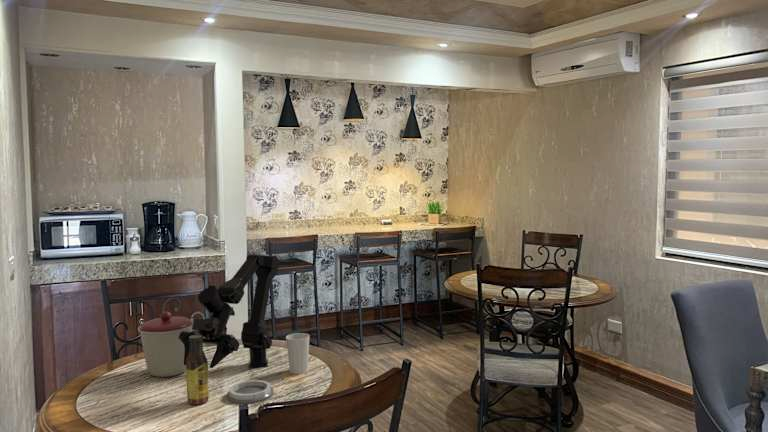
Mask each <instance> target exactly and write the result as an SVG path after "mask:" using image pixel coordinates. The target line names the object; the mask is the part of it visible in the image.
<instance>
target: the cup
mask: <svg viewBox="0 0 768 432" xmlns="http://www.w3.org/2000/svg"><path fill="white" fill-rule="evenodd" d="M285 343H286V349H287V356H288V364H289V373H290V374H291V375H292V374H293V375H303V374H306V373H308V372H309V354H310V353H309V352H310V350H309V349H310V334H309V333H306V332H305V333H303V332H302V333H301V332H299V333H298V332H296V333H290V334H287V335H285Z"/></svg>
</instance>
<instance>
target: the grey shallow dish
mask: <svg viewBox="0 0 768 432" xmlns="http://www.w3.org/2000/svg"><path fill="white" fill-rule="evenodd" d="M274 393H275V392H274V388H273V386H271V383H270V382H268V381H267V380H261V379H260V380H259V379H252V380H244V381H240V382H237V383H236V382H235V383H234V384H232V385H231V386H230V387H229V391H227V393H226V400H227V401H228V402H230V403H233V404H239V405H248V404H249V405H250V404H256V403H261V402H263V401H266V400H268V399H270V398H271V397H272V396H273V395H274Z"/></svg>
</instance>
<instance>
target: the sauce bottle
mask: <svg viewBox="0 0 768 432" xmlns="http://www.w3.org/2000/svg"><path fill="white" fill-rule="evenodd" d="M189 342H190V353H189V355H188V357H187V359H186V371H185V375H186V398H187V402H188V404H189V405H192V406H197V405H202V404H205V403H207V402H208V401H209V396H210V389H209V388H210V386H209V383H210V382H209V363H208V362H209V361H208V359H207V356H206V354H205V352H204V347H203V344H204V343H203V336H202V335H201V334H196V335H192V336H190V337H189Z"/></svg>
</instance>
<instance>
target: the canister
mask: <svg viewBox="0 0 768 432" xmlns="http://www.w3.org/2000/svg"><path fill="white" fill-rule="evenodd" d="M193 321H194V320H192V319H190V318H189V317H184V316H178V315H177V316H176V315H175V316H172V314H171V312H170V311H163V312H162V313H160V317H157V318H154V319H149V320H147V321H144V323H142V324H141V325H139V326H138V328H137V331H138V332H139V333H140V339H141V344H142V350H143V355H144V360H145V364H146V368H147V371H148V373H149V375H151V376H153V377H157V378H158V377H159V378H165V377H166V378H168V377H174V376H177V375H180V374H182V373H183V374H184V373H186V366H185V365H184V353H185V347H184V344H183V343H182V342H181V340H180V339H179V338H178V337H179V335H180V333H181V332H182V331H192V332H193V329H192V326H193Z"/></svg>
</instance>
